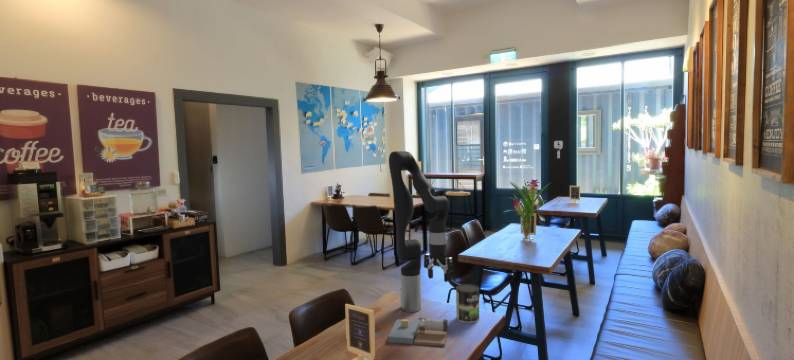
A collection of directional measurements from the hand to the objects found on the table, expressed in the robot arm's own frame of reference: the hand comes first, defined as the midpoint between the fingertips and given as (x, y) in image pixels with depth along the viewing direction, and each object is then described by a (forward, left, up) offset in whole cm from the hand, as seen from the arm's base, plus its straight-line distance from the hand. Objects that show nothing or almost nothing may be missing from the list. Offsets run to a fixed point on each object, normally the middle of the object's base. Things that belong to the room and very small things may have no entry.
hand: (438, 279), depth 181 cm
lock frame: (+3, -13, -20) cm, 24 cm away
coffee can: (+3, +14, -20) cm, 24 cm away
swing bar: (+7, -9, -17) cm, 21 cm away
